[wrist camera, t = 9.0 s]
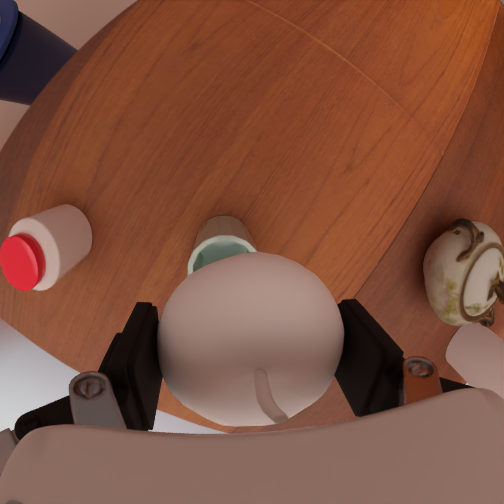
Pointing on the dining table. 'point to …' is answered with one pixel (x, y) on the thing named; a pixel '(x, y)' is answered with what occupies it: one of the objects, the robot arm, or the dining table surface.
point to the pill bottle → (45, 247)
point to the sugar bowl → (465, 273)
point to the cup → (219, 242)
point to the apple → (250, 340)
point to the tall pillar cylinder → (478, 357)
